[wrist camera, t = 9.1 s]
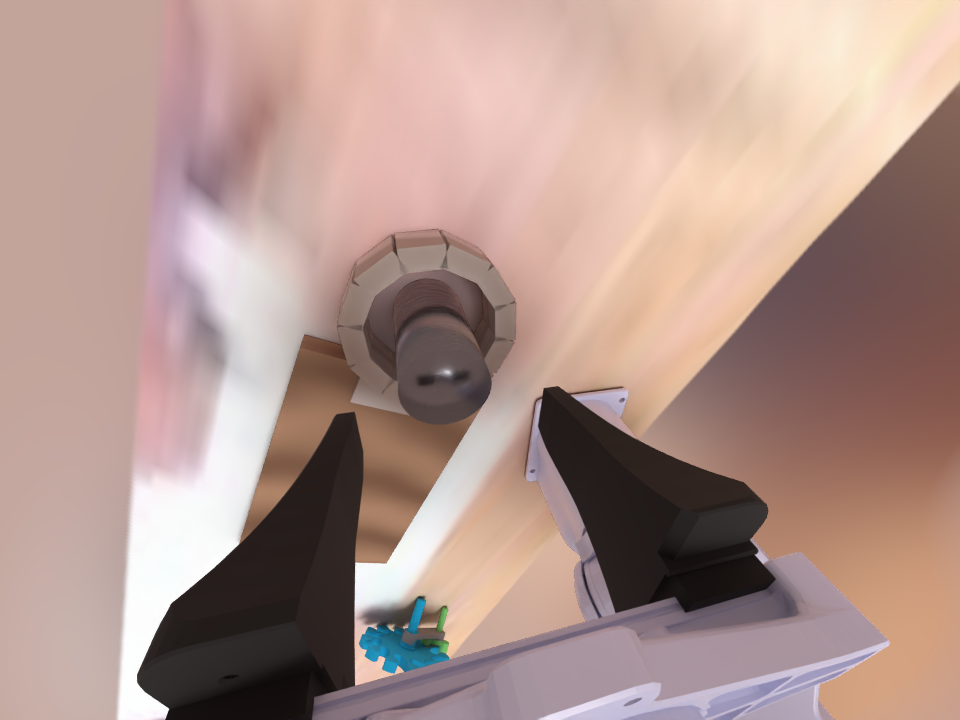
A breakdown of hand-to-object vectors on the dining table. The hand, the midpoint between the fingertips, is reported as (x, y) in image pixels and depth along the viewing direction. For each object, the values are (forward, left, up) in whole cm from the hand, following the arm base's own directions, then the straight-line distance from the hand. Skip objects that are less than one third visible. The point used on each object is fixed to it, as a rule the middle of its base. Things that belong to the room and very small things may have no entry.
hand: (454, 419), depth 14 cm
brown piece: (-9, +4, -10) cm, 14 cm away
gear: (-38, +4, -10) cm, 40 cm away
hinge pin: (0, 0, -10) cm, 10 cm away
